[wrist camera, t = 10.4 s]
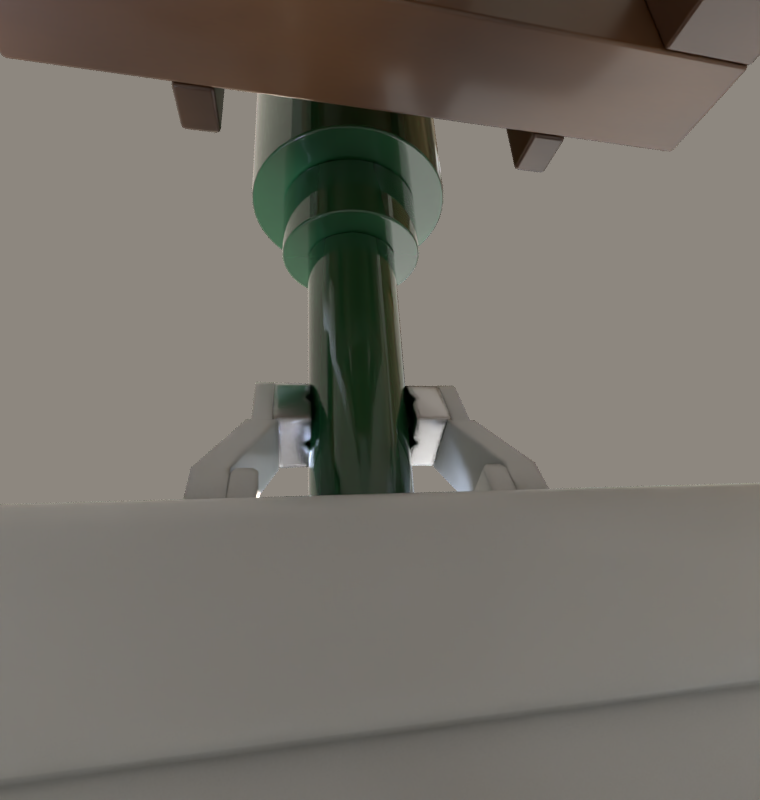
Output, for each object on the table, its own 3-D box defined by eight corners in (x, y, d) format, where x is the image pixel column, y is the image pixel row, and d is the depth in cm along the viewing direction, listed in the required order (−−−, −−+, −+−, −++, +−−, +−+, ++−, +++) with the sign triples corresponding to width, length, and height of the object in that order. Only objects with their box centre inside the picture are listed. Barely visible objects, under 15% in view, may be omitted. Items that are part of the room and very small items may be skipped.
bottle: (545, 537, 9) (445, 551, 15) (426, -133, 18) (393, 41, 24) (208, 554, 8) (244, 562, 14) (260, -173, 17) (268, 21, 23)
